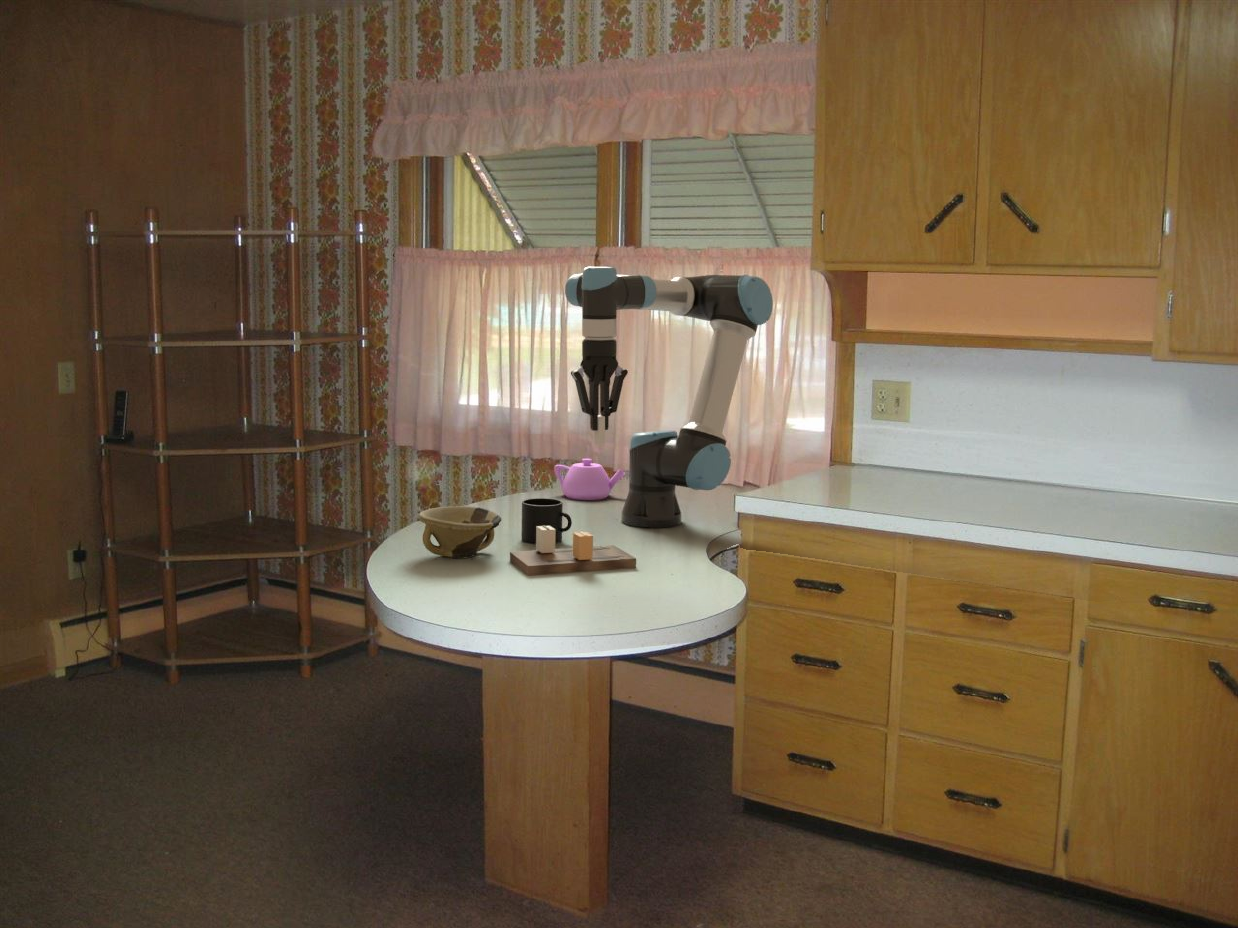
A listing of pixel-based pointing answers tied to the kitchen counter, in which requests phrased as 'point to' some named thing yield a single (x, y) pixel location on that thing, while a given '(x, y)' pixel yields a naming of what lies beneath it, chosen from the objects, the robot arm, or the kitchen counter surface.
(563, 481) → the teapot
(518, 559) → the console board
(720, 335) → the robot arm
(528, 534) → the mug
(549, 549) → the cream fader knob
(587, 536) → the orange fader knob
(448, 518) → the bowl
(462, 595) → the kitchen counter surface
